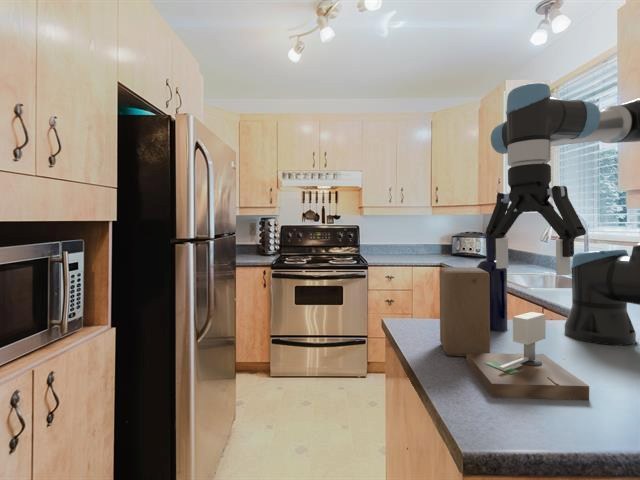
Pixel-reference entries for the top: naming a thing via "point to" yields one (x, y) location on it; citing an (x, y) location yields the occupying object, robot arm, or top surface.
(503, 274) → the bottle
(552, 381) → the board
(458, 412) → the top surface
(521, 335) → the cream block and rod
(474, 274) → the wooden block
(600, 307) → the robot arm
